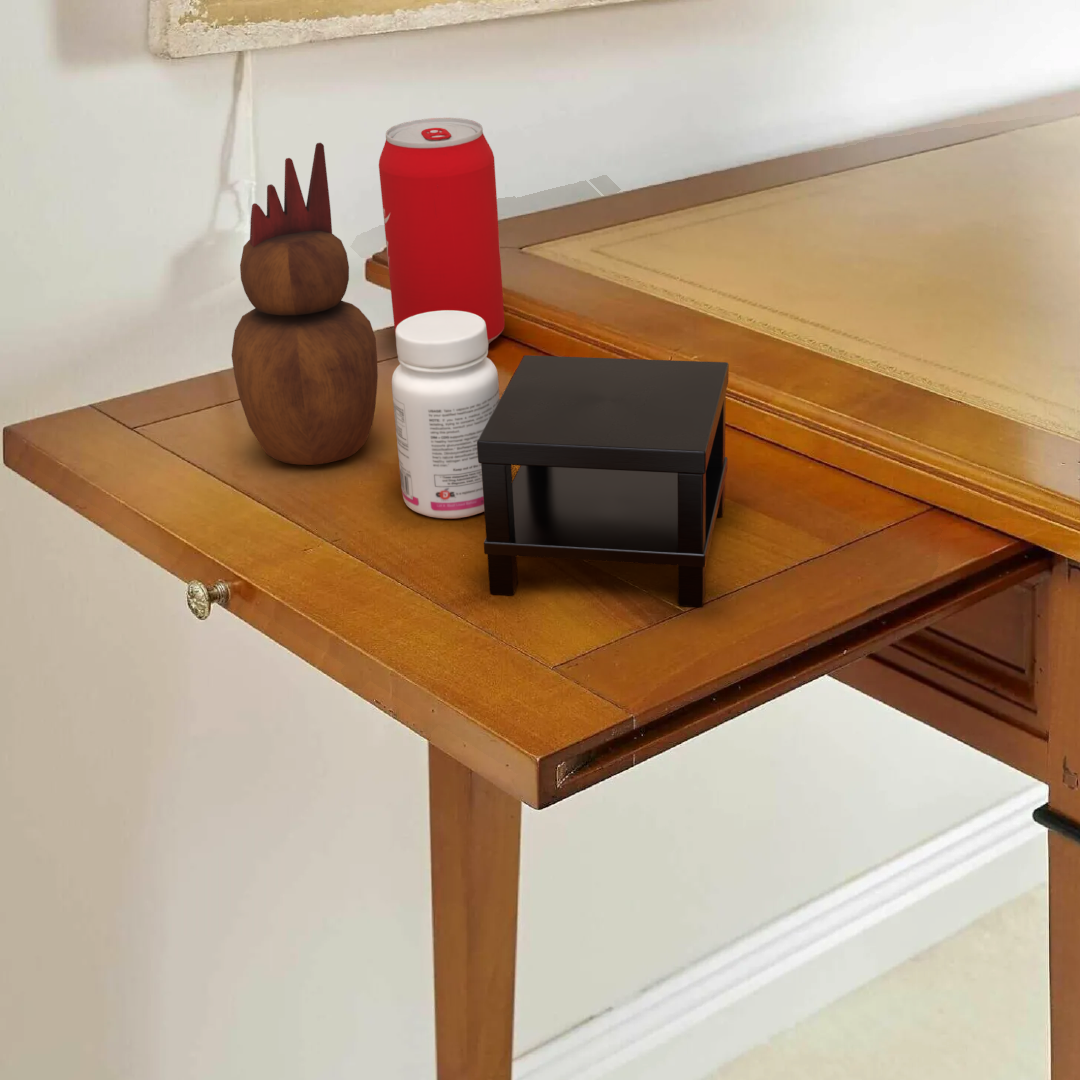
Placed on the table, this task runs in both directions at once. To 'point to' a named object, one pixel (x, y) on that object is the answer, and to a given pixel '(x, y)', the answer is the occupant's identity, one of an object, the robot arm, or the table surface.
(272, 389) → the wooden figurine
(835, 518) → the table surface
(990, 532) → the table surface
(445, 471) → the pill bottle
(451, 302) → the beverage can
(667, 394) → the side table
